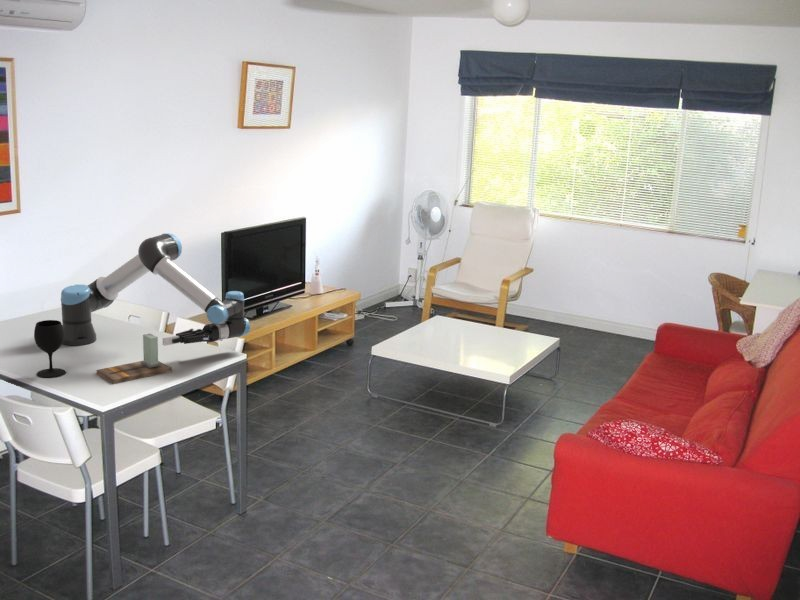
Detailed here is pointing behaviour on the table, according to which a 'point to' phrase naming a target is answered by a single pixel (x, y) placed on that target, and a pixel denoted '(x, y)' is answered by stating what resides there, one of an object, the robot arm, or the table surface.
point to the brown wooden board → (131, 371)
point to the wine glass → (49, 344)
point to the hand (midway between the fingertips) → (163, 342)
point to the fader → (150, 351)
